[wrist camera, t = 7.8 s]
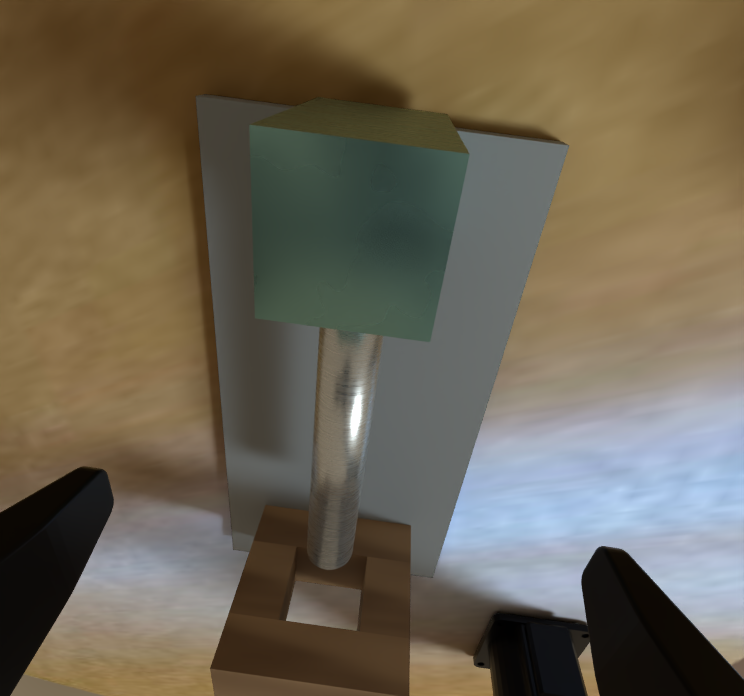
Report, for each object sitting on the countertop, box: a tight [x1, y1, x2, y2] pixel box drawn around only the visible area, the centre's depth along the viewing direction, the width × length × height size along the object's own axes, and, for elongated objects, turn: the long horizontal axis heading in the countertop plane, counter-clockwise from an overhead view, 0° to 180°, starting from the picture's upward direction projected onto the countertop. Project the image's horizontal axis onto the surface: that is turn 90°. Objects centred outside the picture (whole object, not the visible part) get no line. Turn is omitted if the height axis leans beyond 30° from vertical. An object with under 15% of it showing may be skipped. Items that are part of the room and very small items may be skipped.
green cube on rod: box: [249, 97, 470, 570], centre depth 16 cm, size 17×4×7 cm, turn 174°
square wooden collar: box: [210, 505, 411, 696], centre depth 23 cm, size 3×8×8 cm, turn 84°
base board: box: [196, 94, 569, 578], centre depth 21 cm, size 24×12×1 cm, turn 174°
